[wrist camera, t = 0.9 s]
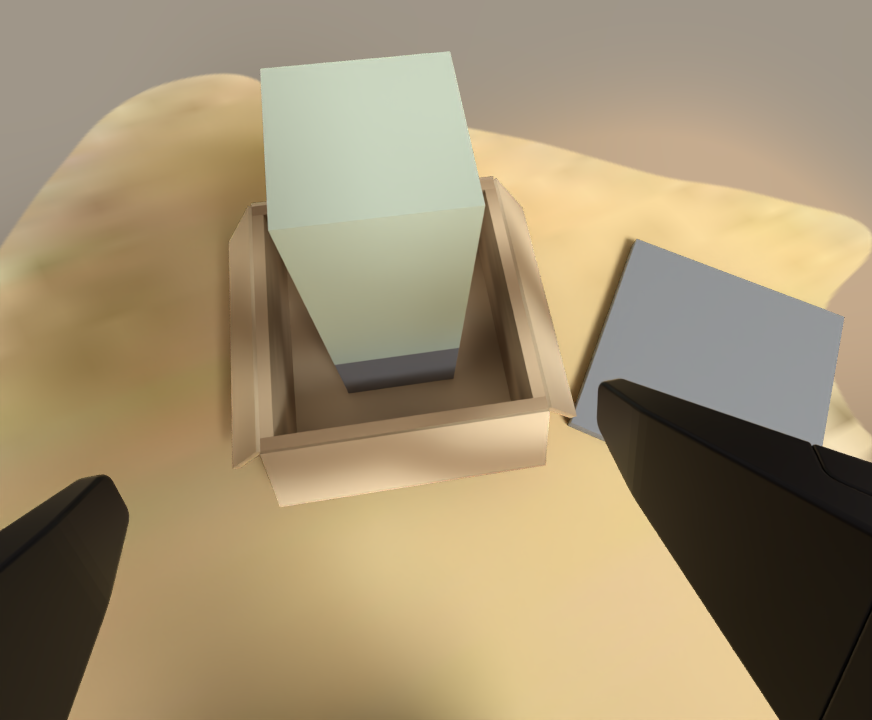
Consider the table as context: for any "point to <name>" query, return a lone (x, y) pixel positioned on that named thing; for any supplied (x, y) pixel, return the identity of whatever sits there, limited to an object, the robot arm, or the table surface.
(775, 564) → the robot arm
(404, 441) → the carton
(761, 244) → the table surface
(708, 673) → the table surface
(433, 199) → the box
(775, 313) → the coaster
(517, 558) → the table surface
